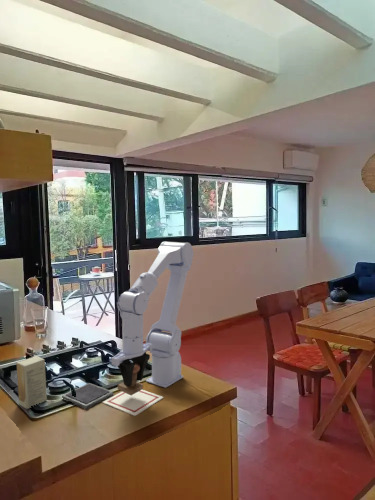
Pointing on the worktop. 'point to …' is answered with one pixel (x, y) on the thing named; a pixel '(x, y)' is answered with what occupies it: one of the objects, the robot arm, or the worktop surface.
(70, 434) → the worktop surface
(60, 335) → the worktop surface
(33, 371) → the skincare box
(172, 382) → the robot arm
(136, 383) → the stamp
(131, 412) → the marked sheet
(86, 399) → the ink pad
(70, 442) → the worktop surface
